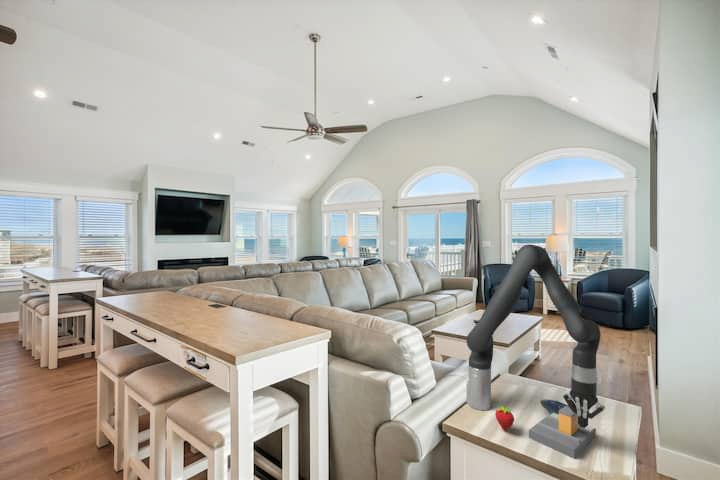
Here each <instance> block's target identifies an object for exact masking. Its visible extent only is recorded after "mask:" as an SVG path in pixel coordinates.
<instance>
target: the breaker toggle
mask: <svg viewBox="0 0 720 480" xmlns="http://www.w3.org/2000/svg"><path fill="white" fill-rule="evenodd" d="M558 413H559V431H561V432H563V433H566V434H568V435H570V436H571V435H573V434H574V433H575V432H576V431H577V427H578V415H577V414H576V413H574V412H572V410H571V409H570V407H568V406H565V407H563V408H562V409H561V410H559V411H558Z"/></svg>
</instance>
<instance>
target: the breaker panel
mask: <svg viewBox="0 0 720 480" xmlns="http://www.w3.org/2000/svg"><path fill="white" fill-rule="evenodd" d="M596 436H597V428H595V427H593V426H590V425H588V426H587V427H585V428H582V427H580V426H579V424H578V427H577V431H576V432H575V433H574V434H573V435H571V436H570V435H568V434H566V433H563V432H561V431H559V414H556V413H554V412H553V413H551V414H550V413H549V414H548V415H547V416H546V417H544V418H543V419H542V420H540V421H538V422H537V423H536V424H535V425H533V426H532V427H531V428H529V429H528V439H530V438H531V440H532V439H533V441H535V442H537V443H538V444H541V445H543V446H546V447H548V448H550V449H552V450H554V451H556V452H559V453H561V454H563V455H566V456H568V457H569V458H572V459H575V458H576V457H577V456H579V454H580V453H582V451H583V450H584V449H585V448H587V446H588V445H589V444H591V442H592V441H593V440H594V439H595V438H596Z"/></svg>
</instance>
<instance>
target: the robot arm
mask: <svg viewBox="0 0 720 480" xmlns="http://www.w3.org/2000/svg"><path fill="white" fill-rule="evenodd" d="M555 268H556V267H555V265H553V262H552V260H551V257H550V255H549V253H548V252H547V250H546V249H545V248H543V246H542V247H541V246H539V245H535V244H530V243H529V244H525V245H523V246H521V247H520V248H519V250H518V251H517V253H516V255H515V257H514V259H513V261H512V263H511V265H510V267H509V269H508V272H507V273H506V275H504V277H503V279H502V280H501V282H500V284H499V285H498V287H497V288H496V290H495V292H494V293H493V295H492V296H491V298H490V300H489V302H488V304H487V305H486V308H485V309H484V310H483V313H482V315H481V317H480V318H479V320H478V322H477V323H476V324H475V325H474V327H473V328H472V329H471V330H470V332H469V333H468V334H467V336H466V346H467V348H468V350H470V351H471V353H470V355H469V358H468V380H467V381H466V395H465V396H466V399H465V400H466V402H465V403H466V404H468V406H469V407H470V408H473V409H475V410H479V411H486V410H487V411H488V410H490V409H491V407H492V405H491V404H492V362H493V356H494V338H493V337H494V334H495V332H496V330H497V329H498V328H499V326H500V325H502V323H504V321H505V320H506V319H507V318H508V317H509V316H510V315H511V313H512V312H513V310H514V309H515V307H516V306H517V304H518V303H519V300H520V298H521V297H522V296H521V294H522V290H523V286H524V283H525V281H526V279H527V278H528V276H529V275H530V274H531V272H532V271H535V273H537V275H538V276H539V278H540V280H542V282H543V284H544V287H545V289H546V292H547V294H548V297H549V299H550V301H551V302H552V303H553V306H554V307H555V308H556V310H557V312H558V313H559V315H561V318H562V321H563V324H564V326H565V329H566V331H567V333H568V334H569V336H570V337H571V339H573V340H574V341H575V342H577V344H576V345H575V347H574V348H573V349H572V358H571V359H572V361H571V362H572V363H571V364H572V365H571V369H570V370H571V371H570V372H571V374H570V375H571V377H570V378H571V379H570V381H571V382H570V390H569V393H566V394H563V396H562V398H563V399H564V401H565V404H566V405H568V406H569V407H570V409H571V410H572V412H574V413H576V414H577V415H578V424H579V426H580V427H582V428H585V427H587V426H589V419H590V420H591V419H594V418H595V417H596V416H597V415H599V414H600V413H602V412H603V411H604V410H605V409H606V407H605V406H604V405H602V404H601V403H600V402H599V399H598V397H597V393H598V392H597V391H598V390H597V385H598V384H597V383H598V372H597V353H598V350H599V345H600V341H601V333H602V332H601V330H600V327H599V325H598V324H597V323H596V322H595V321H593V320H591V319H584V320H583V318H582V316H581V314H580V313H581V312H582V308H581V306H580V304H579V303H578V301H577V300H576V299H575V297H574V296H573V294H572V293H571V291H570V290H569V289H568V287H567V286H566V284H565V283H564V282H563V279H562V278H561V277H560V274H559V273H558V272H557V270H556V269H555ZM594 406H595V410H593V411H592V412H590V411H591V408H593V407H594Z"/></svg>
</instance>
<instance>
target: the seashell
mask: <svg viewBox="0 0 720 480" xmlns="http://www.w3.org/2000/svg"><path fill="white" fill-rule="evenodd" d="M539 401H540V402H539V403H540V405H541V406H542V408H544V409H545V410H546V411H547V412H548V413H549V415H550V414H551V413H553V412H554V413H556V414H559V413H558V411H559V410H561V409H562V408H563V407H565V406H568V404H567V403H564V402H561V401H558V400H554V399H543V398H542V399H540V400H539ZM568 407H569V406H568Z"/></svg>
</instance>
